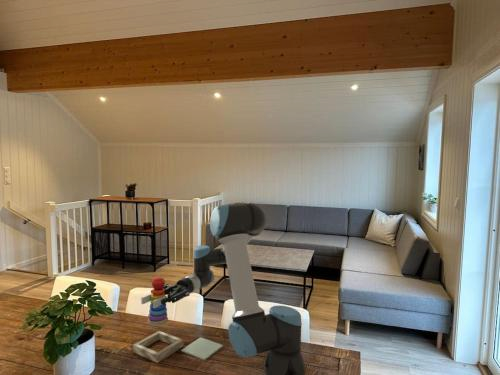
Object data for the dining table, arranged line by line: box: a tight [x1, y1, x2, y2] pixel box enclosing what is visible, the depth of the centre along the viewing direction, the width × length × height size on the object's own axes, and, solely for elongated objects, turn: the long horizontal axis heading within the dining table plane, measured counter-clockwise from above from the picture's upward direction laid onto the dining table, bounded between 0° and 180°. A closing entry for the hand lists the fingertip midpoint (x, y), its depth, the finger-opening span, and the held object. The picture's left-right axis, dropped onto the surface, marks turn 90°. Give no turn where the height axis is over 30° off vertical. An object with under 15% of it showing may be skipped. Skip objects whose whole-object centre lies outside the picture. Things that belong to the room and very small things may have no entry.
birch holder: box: [132, 330, 184, 363], centre depth 141 cm, size 14×14×3 cm
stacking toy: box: [147, 276, 169, 327], centre depth 139 cm, size 8×8×19 cm
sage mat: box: [180, 337, 224, 361], centre depth 141 cm, size 12×12×1 cm
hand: (147, 302), depth 135 cm, fingers closed on stacking toy, 6 cm apart
